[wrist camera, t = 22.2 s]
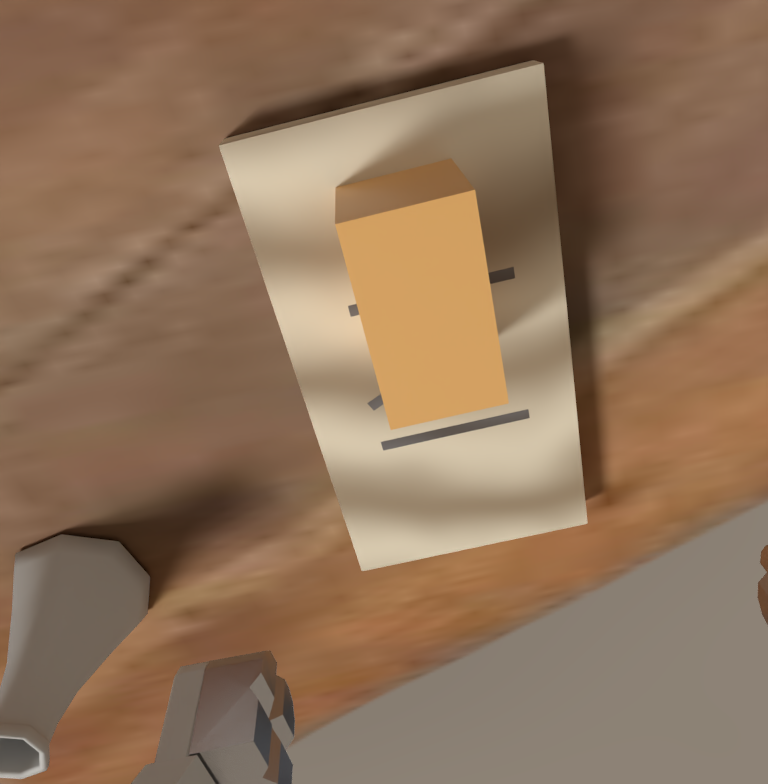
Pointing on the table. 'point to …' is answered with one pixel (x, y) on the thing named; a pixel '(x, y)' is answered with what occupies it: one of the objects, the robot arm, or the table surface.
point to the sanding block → (422, 291)
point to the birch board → (347, 338)
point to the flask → (61, 637)
